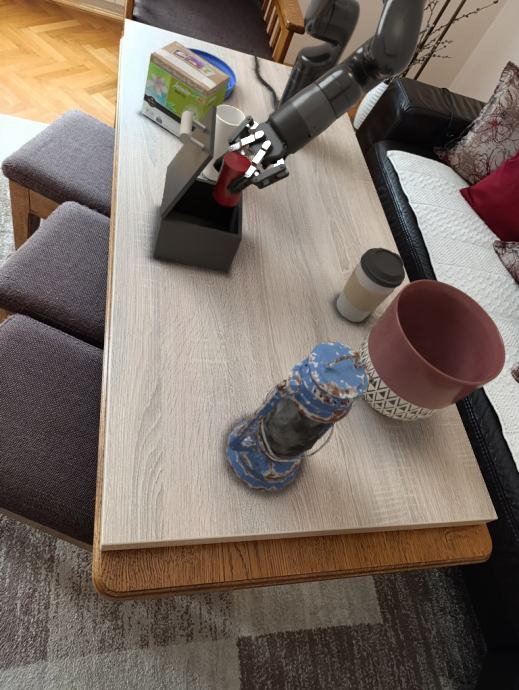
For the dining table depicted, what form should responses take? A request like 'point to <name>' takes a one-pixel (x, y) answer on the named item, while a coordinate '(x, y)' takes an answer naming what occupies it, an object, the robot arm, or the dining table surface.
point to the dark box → (200, 230)
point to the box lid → (189, 157)
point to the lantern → (296, 416)
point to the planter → (429, 351)
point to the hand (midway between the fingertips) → (222, 180)
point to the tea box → (181, 86)
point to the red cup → (230, 178)
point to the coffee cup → (370, 283)
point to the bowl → (220, 65)
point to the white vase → (223, 135)
